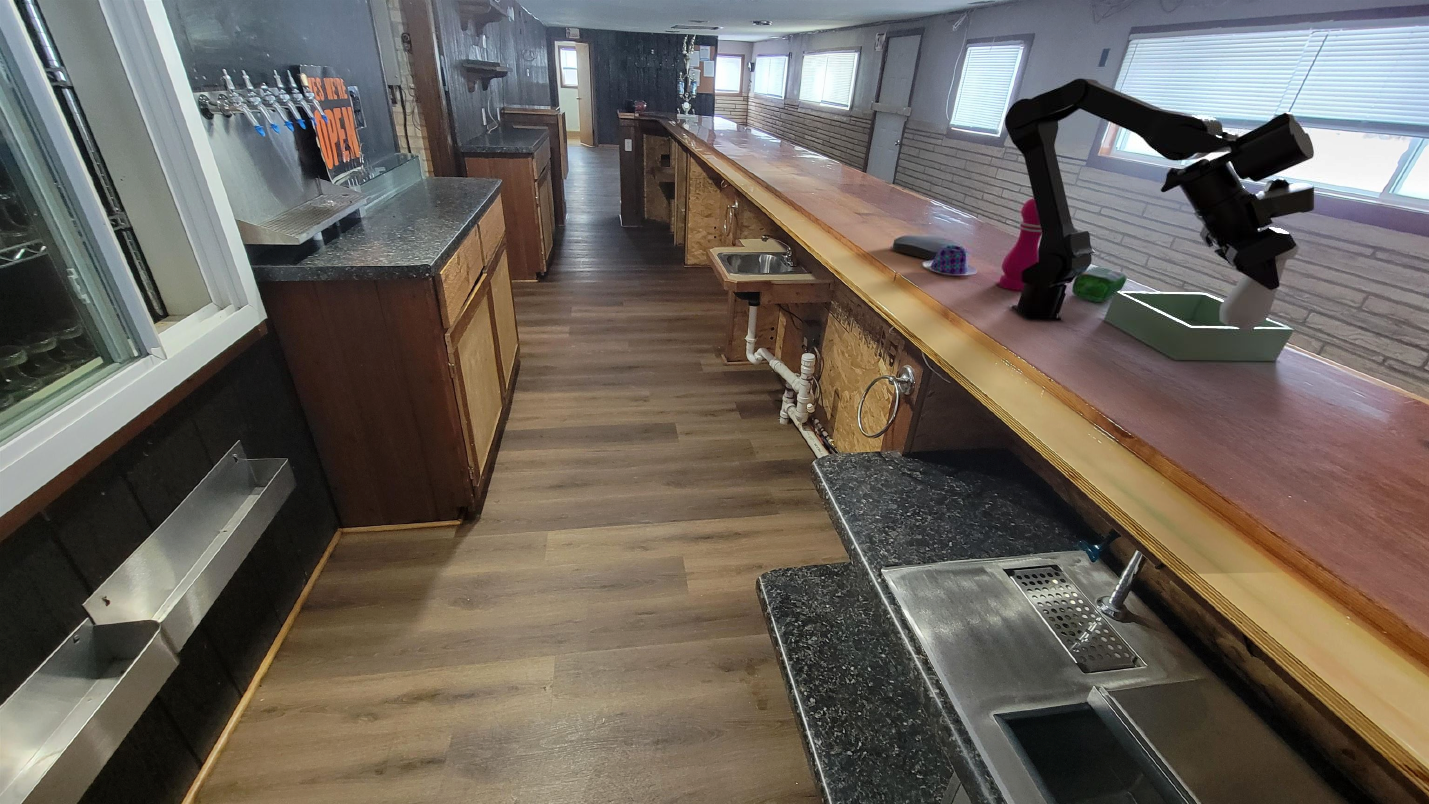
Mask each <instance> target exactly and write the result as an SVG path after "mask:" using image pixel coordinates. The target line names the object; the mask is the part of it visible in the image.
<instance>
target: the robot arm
mask: <svg viewBox="0 0 1429 804" xmlns="http://www.w3.org/2000/svg"><path fill="white" fill-rule="evenodd" d="M1079 110H1082V111H1084V112H1087V113H1089V114H1090V115H1093V116H1096V117H1098V118H1100V119H1102V120H1104V121H1107V122H1108V123H1111V124H1114V125H1116V126H1118V127H1120V128H1123V129H1125V130H1128V131H1129V132H1132V133H1134V134H1136V135H1138V136H1139V137H1140V138H1142V140H1143V141H1144V142H1145V143H1146V145H1148V146H1149V147H1150V148H1151V149H1152V150H1154V151H1155V152H1157V153H1158V154H1160V155H1161V156H1162V157H1163V158H1164V159H1167V160H1169V161H1174V162H1175V161H1179V162H1180V161H1191V160H1197V161H1195V162H1193V163H1191V164H1189V165H1187V166H1184V167H1182V168H1177V167H1170V168H1169V169H1168V171H1167V173H1166V174H1165V175H1166V176H1165V180H1164V183H1163V185H1162V187H1161V188H1160V192H1161V193H1166V192H1168V191H1171V190H1172V189H1175V188H1176V187H1179V188H1180V190H1182V192H1183V194H1184V196H1185V197H1186V199H1187V201H1188V202H1189V205H1191V207H1192V209H1193V210H1194V213H1193V214H1194V216H1195V218H1196V219H1197V220H1199V221H1200V222H1201V223H1202V225H1203V227H1202V228H1201V231H1200V232H1199V237H1200V238H1201V240H1202V242H1203V243H1204V245H1206V246H1207V247H1208V248H1211V247H1213V246H1214V245H1216V246H1217V248H1216V249H1214V251H1213V252H1214V253H1215V255H1217V256H1219V257H1220V258H1221V259H1223V260H1224V261H1226V262H1227V264H1228V265H1230V267H1232V268H1233V269H1235V270H1236V271H1237V272H1238V273H1241V274H1243V275H1246V276H1248V277H1250V278H1251V279H1253V280H1255V281H1256V282H1258V283H1259V284H1261V285H1263V286H1264V287H1266V288H1267V289H1269V290H1273V289H1276V288H1277V289H1278V288H1280V282H1279V278H1278V272H1277V267H1276V259H1275V257H1276V256H1278V255H1280V254H1282V253H1285V252H1287V251H1289V250H1291V249H1293V248H1294V247H1295V246H1296V243H1297V242H1296V241H1295V240H1294V238H1293V236H1292V235H1291V233H1290V232H1288V231H1286V230H1284V229H1282V228H1276V227H1270V225H1271V224H1274V222H1273V220H1272V219H1275V218H1281V217H1285V216H1289V215H1294V214H1297V213H1301V214H1305V213H1309V212H1312V211H1314V210H1315V186H1314V185H1312V184H1309V183H1306V182H1299V183H1298V182H1293V183H1292V184H1290V183H1289V182H1288V181H1287V179H1284V178H1282V177H1279V178H1275V179H1271V180H1268V181H1267V182H1266V183H1265V186H1264V188H1263V189H1262V190H1261V191H1258V193H1254V192H1249V191H1248V190H1247V189H1245V187H1244V185H1243V184H1242V182H1241V180H1247V179H1250V180H1251V181H1252V182H1255V183H1258V182H1260V181H1262V180H1265V179H1267V178H1269V177H1272V176H1274V175H1276V174H1279V173H1281V172H1284V171H1286V170H1288V169H1290V168H1293V167H1295V166H1297V165H1299V164H1303V163H1304V162H1306V161H1309V160H1311V159H1313V158H1314V156H1315V150H1314V146H1313V142H1312V140H1311V137H1310V134H1309V133H1308V132H1305V130H1304V128H1303V127H1302V126H1301V124H1300V123H1299V122H1298V121H1297V120H1296V119H1295V116H1294V115H1293V113H1292V112H1284V113H1282V114H1278V115H1277V116H1275V117H1274V118H1272V119H1270V120H1269V121H1268V122H1266V123H1264V124H1263V125H1261V126H1258V127H1257V128H1254V129H1252V130H1250V131H1248V132H1246V133H1244V134H1242V135H1240V134H1239V133H1233V132H1229V131H1227V130H1224V129H1223V124H1222V123H1221V121H1219V119H1217V118H1214V117H1211V116H1205V115H1200V114H1194V113H1189V112H1181V111H1175V110H1168V109H1163V108H1161V107H1159V106H1156V105H1153V104H1151V103H1149V102H1146V101H1143V100H1142V99H1139V98H1136V97H1134V96H1131V95H1128V94H1127V93H1123V92H1121V91H1119V90H1116V89H1114V88H1111V87H1109V86H1106V85H1104V84H1101V83H1100V82H1099V81H1098V80H1096V79H1093V78H1083V77H1081V78H1075V79H1073V80H1071V81H1069V82H1068V83H1065V84H1064V85H1061V86H1060V87H1056V88H1054V89H1052V90H1051V89H1050V90H1048V91H1045V92H1043V93H1041V94H1038V95H1036V96H1034V97H1032V98H1021V99H1018V100H1016V101H1015V102H1014V103H1013V104H1012V105H1011V106H1010V108H1009V109H1008V111H1007V113H1006V114H1005V117H1004V125H1005V129H1006V132H1007V133H1008V135H1009V139H1010V141H1011V143H1012V144H1013V145H1014V146H1015V147H1016V148H1017V150H1018V151H1019V153H1021V155H1022V157H1023V159H1024V162H1025V167H1026V171H1027V175H1028V179H1029V184H1030V188H1031V192H1032V196H1033V198H1034V201H1035V206H1036V210H1037V214H1038V218H1039V223H1040V227H1041V231H1042V235H1041V237H1040V241H1039V246H1038V262H1037V263H1035V264H1033V265H1031V266H1030V267H1028V268H1026V269H1024V270H1023V271H1022V282H1023V283H1025V284H1024V287H1023V290H1022V291H1021V294H1020V295H1019V296H1020V297H1019V300H1018V302H1017V305H1016V304H1012V305H1011V309H1012V310H1014V311H1015V312H1017V313H1018V314H1020V315H1021V316H1023V318H1025V319H1027V320H1031V321H1035V320H1036V321H1038V320H1039V321H1042V320H1043V321H1062V316H1061V315H1059V314H1060V313H1061V309H1062V307H1063V304H1064V301H1065V298H1066V295H1067V293H1066V291H1067V287H1068V285H1067V284H1071V283H1073V282H1074V280H1075V278H1076V276H1078V275H1080V274H1083V273H1084V272H1085V271H1086V270H1089V267H1090V266H1091V265H1092V259H1093V258H1092V254H1095V253H1096V251H1095V250H1094V248H1093V247H1092V245H1091V234H1090V231H1089V230H1084V231H1079V230H1078V229H1077V228H1076V227H1075V226H1074V224H1073V220H1072V215H1071V212H1070V207H1069V204H1068V199H1067V194H1066V191H1065V186H1064V182H1063V178H1062V174H1061V170H1060V169H1061V168H1060V165H1059V160H1058V156H1057V151H1056V147H1055V146H1056V145H1055V143H1056V140H1057V136H1058V132H1059V122H1060V121H1062V120H1064V119H1067V118H1069V117H1070V116H1072V115H1073V114H1075V113H1076V112H1078V111H1079ZM1217 153H1225V154H1223V155H1220V156H1218V157H1215V158H1213V159H1210V160H1209V159H1207V158H1205V157H1207V156H1208V155H1210V154H1217ZM1240 179H1241V180H1240ZM1268 226H1269V227H1268ZM1266 227H1267V228H1266Z"/></svg>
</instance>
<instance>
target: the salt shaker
mask: <svg viewBox="0 0 1429 804" xmlns="http://www.w3.org/2000/svg"><path fill="white" fill-rule="evenodd" d="M1295 243H1296V246H1295V247H1294V248H1293V249H1291V250H1289V251H1287V252H1285V253H1282V254H1280V255H1278V256H1276V257H1275V259H1276V267H1277V272H1278V278H1279V283H1280V281H1281V279H1282V275H1283V272H1284V270H1285V267H1286V263H1287V261H1289V260H1293V259H1295V256H1296V255H1297V254H1298V251H1299V249H1300V246H1299V243H1297V242H1295ZM1277 291H1278V288H1276V289H1273V290H1269V289H1267V288H1266V287H1264V286H1263V285H1261V284H1259V283H1258V282H1256V281H1255V280H1253V279H1251V278H1250V277H1248V276H1246V275H1245V274H1243V275H1242V277H1241V279H1240V280H1239V281H1238V282H1237V284H1236V285H1235V286H1234V287H1233V288H1232V290H1231V291H1230V293H1229V294H1228V295H1227V296H1226V298H1225V299H1224V300H1223V303H1222V304H1221V306H1220V321H1221V322H1222V323H1224V324H1226V325H1228V326H1232V327H1236V328H1240V329H1253V328H1254V327H1256V326H1257V325H1258V324H1260V323H1261V322H1262V321H1264V320H1265V319H1266V318H1268V317H1269V316H1270V312H1271V309H1272V307H1273V303H1274V300H1275V297H1276V295H1277V294H1276V293H1277Z"/></svg>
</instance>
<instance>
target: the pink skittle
mask: <svg viewBox="0 0 1429 804" xmlns="http://www.w3.org/2000/svg"><path fill="white" fill-rule="evenodd" d="M1020 216H1021V217H1022V220H1021V221H1020V222H1019V223H1020V225H1019V227H1018V229H1020V231H1019V236H1018V238H1017V241H1016V242H1015V245H1014V246H1013V247H1012V249H1011V250H1010V251H1008V253H1007V254H1006V256H1005V257H1004V259H1003V261H1002V263H1001V269H1002V272H1003V274H1002V275H1001V276H1000V278H999V281H998V285H999V286H1000V287H1002V288H1004V289H1008V290H1010V291H1017V292H1022V290H1023V287H1024V284H1025V283H1023V282H1022V271H1023V270H1024V269H1026V268H1028V267H1030V266H1031V265H1033V264H1035V263H1037V262H1038V248H1039V244H1040V240H1041V236H1042V231H1041V227H1040V223H1039V218H1038V214H1037V210H1036V206H1035V201H1034V197H1033V198H1030V199H1028V200H1027V201H1025V203H1024V204H1023V205H1022V207H1021V210H1020Z"/></svg>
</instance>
